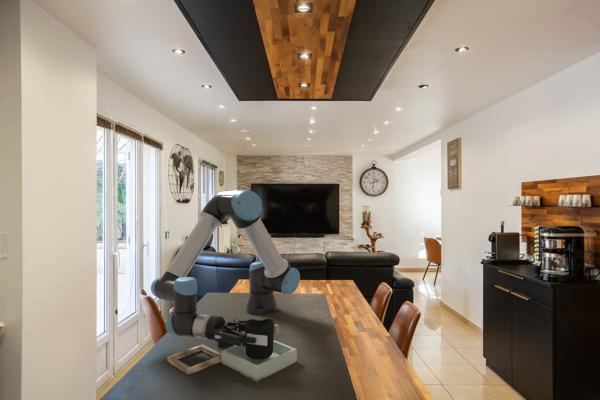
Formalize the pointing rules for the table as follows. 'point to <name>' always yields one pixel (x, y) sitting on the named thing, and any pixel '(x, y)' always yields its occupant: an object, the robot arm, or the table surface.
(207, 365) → the square wooden frame
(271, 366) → the bin
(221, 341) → the bolt
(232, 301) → the table surface
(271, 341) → the pen holder
